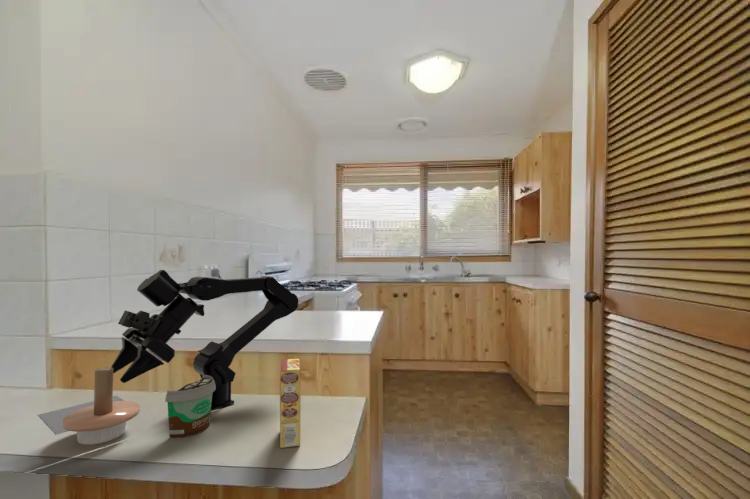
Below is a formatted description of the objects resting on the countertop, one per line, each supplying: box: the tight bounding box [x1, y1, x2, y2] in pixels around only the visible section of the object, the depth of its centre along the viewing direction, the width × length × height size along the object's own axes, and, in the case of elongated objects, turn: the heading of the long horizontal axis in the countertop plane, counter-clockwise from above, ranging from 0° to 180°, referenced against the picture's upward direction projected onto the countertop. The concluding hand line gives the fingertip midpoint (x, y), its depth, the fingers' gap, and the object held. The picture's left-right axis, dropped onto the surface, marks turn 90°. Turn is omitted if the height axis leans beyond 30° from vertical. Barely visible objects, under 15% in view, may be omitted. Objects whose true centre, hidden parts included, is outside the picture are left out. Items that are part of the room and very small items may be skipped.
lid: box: [63, 366, 141, 433], centre depth 78 cm, size 13×13×10 cm
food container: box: [164, 375, 216, 439], centre depth 82 cm, size 12×6×10 cm, turn 168°
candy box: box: [279, 358, 302, 449], centre depth 78 cm, size 9×4×15 cm, turn 13°
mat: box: [37, 395, 125, 435], centre depth 89 cm, size 16×16×1 cm
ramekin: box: [76, 421, 127, 445], centre depth 78 cm, size 9×9×4 cm
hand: (115, 376), depth 80 cm, fingers open, 9 cm apart
